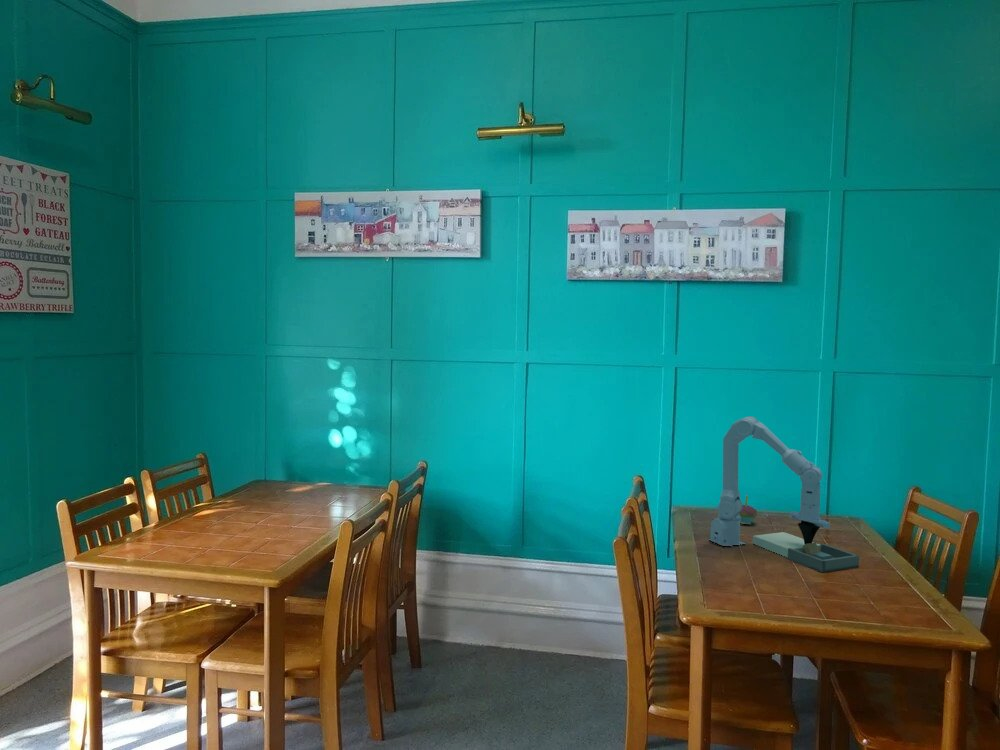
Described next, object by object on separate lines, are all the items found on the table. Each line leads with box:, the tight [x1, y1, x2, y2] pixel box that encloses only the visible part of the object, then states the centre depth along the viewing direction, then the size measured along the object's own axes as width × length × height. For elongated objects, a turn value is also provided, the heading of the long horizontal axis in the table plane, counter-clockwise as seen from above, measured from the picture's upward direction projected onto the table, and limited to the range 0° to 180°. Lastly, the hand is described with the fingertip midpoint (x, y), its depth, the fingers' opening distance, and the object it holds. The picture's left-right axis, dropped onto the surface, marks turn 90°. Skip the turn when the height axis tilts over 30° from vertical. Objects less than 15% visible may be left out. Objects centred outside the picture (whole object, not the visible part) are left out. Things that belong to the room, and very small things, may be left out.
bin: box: [787, 543, 860, 573], centre depth 224 cm, size 16×14×4 cm
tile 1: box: [803, 542, 820, 556], centre depth 228 cm, size 4×4×2 cm
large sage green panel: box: [752, 531, 821, 559], centre depth 238 cm, size 14×16×3 cm
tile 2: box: [812, 552, 832, 560], centre depth 225 cm, size 4×4×2 cm
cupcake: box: [739, 494, 758, 523], centre depth 269 cm, size 9×8×12 cm
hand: (808, 545), depth 230 cm, fingers closed, pressing on tile 1
